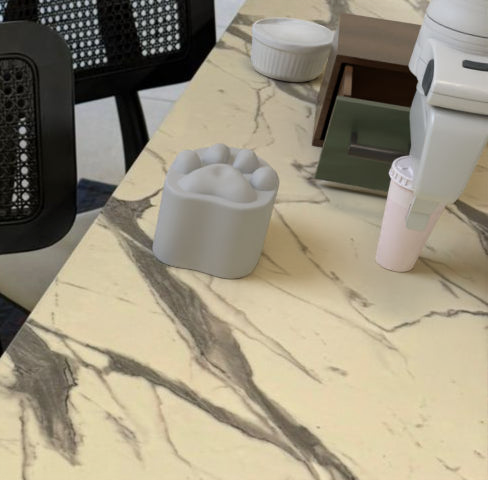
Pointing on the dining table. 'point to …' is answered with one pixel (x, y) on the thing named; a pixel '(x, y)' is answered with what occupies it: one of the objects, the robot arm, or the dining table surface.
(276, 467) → the dining table surface
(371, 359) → the dining table surface
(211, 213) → the lumpy-topped squat cylinder
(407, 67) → the cabinet
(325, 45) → the ramekin
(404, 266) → the smoothie
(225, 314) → the dining table surface
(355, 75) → the drawer
